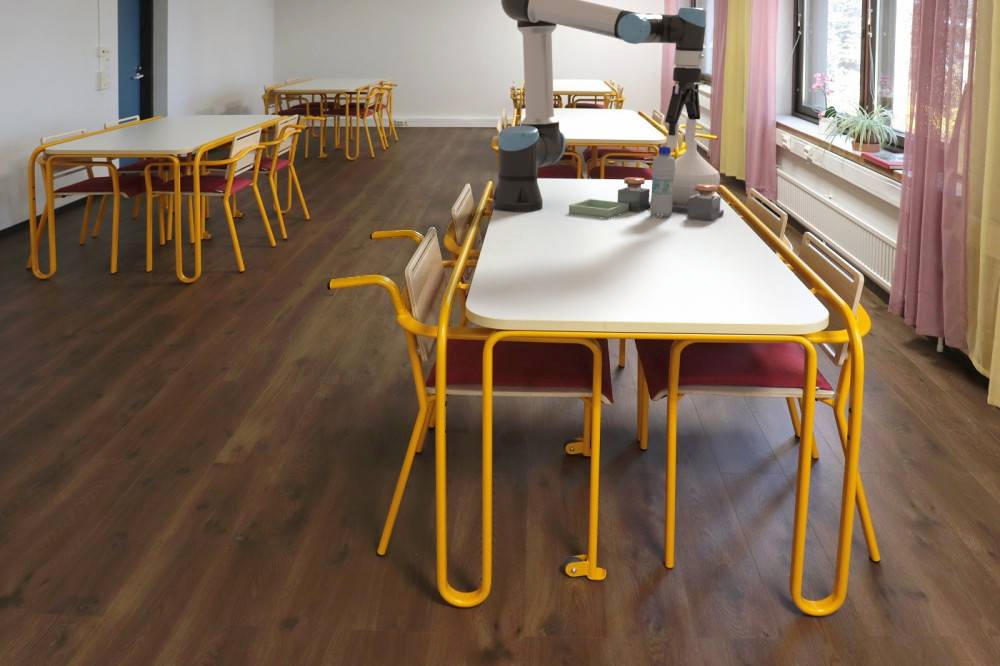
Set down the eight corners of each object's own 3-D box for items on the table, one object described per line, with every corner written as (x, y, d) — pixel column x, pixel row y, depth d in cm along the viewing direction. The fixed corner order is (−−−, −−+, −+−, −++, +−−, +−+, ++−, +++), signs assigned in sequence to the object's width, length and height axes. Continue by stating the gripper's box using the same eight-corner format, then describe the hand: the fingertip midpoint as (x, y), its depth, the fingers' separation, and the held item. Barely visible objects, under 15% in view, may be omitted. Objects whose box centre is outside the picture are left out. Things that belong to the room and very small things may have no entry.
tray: (568, 213, 282) (569, 205, 281) (589, 207, 293) (589, 198, 292) (609, 218, 276) (609, 209, 275) (628, 211, 286) (629, 203, 285)
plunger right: (689, 215, 277) (691, 186, 275) (697, 211, 282) (699, 183, 280) (709, 217, 274) (712, 188, 272) (717, 214, 279) (719, 185, 277)
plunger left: (619, 206, 288) (620, 179, 286) (628, 203, 293) (629, 176, 291) (638, 209, 285) (639, 181, 283) (646, 206, 290) (648, 178, 288)
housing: (617, 210, 289) (618, 189, 287) (631, 204, 297) (633, 185, 295) (710, 221, 274) (712, 199, 272) (723, 215, 283) (725, 194, 281)
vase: (651, 197, 310) (655, 136, 304) (707, 197, 312) (711, 136, 306) (666, 208, 293) (671, 144, 287) (725, 207, 294) (731, 143, 289)
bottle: (671, 219, 276) (676, 148, 270) (648, 217, 278) (652, 147, 272) (672, 214, 283) (677, 145, 277) (649, 213, 284) (653, 144, 278)
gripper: (684, 69, 255) (677, 150, 262) (716, 66, 275) (708, 141, 282) (657, 67, 259) (651, 147, 265) (690, 64, 279) (684, 139, 286)
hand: (680, 145), depth 274 cm, fingers open, 13 cm apart
